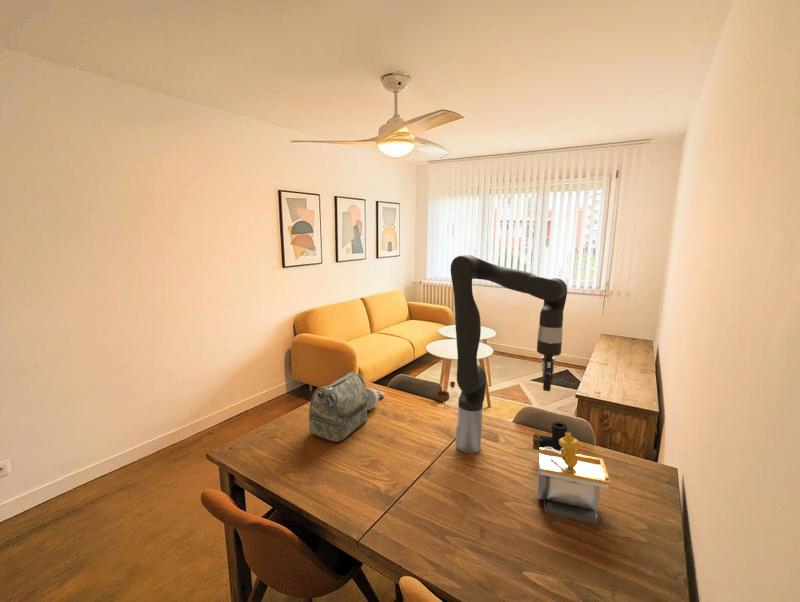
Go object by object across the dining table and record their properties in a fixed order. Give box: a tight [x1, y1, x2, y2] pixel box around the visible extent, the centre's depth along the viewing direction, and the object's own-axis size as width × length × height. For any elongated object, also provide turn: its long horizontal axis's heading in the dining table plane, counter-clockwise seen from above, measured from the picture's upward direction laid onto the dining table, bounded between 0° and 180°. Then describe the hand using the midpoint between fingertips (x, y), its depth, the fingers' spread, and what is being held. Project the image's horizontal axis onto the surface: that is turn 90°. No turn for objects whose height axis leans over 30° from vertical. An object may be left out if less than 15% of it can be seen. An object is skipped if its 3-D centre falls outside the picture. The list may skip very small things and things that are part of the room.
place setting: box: [434, 381, 456, 402], centre depth 188 cm, size 18×20×6 cm
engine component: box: [366, 387, 386, 411], centre depth 182 cm, size 11×20×10 cm, turn 171°
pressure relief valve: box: [544, 431, 580, 468], centre depth 113 cm, size 6×12×10 cm, turn 27°
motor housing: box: [536, 447, 611, 526], centre depth 111 cm, size 18×12×14 cm, turn 70°
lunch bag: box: [308, 371, 369, 443], centre depth 157 cm, size 26×18×22 cm
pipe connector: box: [532, 421, 568, 451], centre depth 133 cm, size 12×5×15 cm, turn 65°
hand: (546, 385), depth 123 cm, fingers open, 8 cm apart
